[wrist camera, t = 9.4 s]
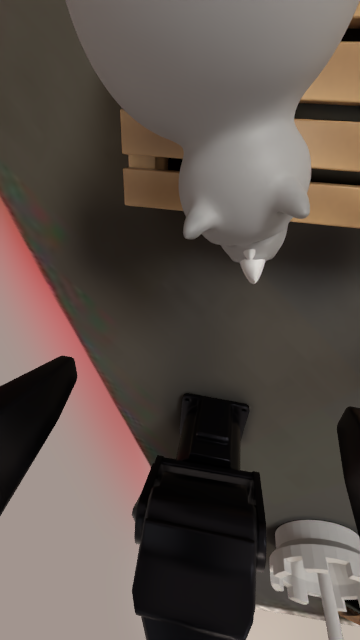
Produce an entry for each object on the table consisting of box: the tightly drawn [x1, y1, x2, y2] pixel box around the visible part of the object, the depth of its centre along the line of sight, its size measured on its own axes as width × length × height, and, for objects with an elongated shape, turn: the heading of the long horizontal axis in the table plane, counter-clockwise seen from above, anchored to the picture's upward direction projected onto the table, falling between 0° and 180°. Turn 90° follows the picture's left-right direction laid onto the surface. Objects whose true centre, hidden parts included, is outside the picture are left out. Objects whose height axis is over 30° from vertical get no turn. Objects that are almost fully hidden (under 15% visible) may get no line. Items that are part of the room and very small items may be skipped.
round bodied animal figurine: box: [66, 0, 360, 284], centre depth 9 cm, size 7×12×8 cm, turn 14°
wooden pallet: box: [120, 1, 360, 229], centre depth 13 cm, size 9×18×4 cm, turn 87°
